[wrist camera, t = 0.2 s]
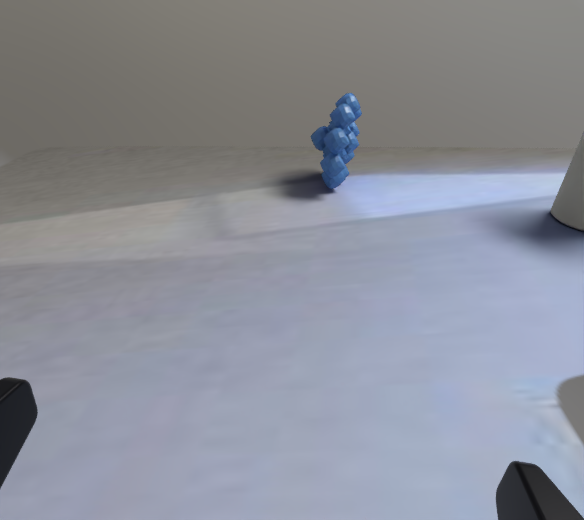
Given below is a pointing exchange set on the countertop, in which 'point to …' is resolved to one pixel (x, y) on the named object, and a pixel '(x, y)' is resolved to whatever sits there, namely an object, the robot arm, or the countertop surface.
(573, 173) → the travel mug
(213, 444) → the countertop surface
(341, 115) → the grapes
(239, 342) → the countertop surface
